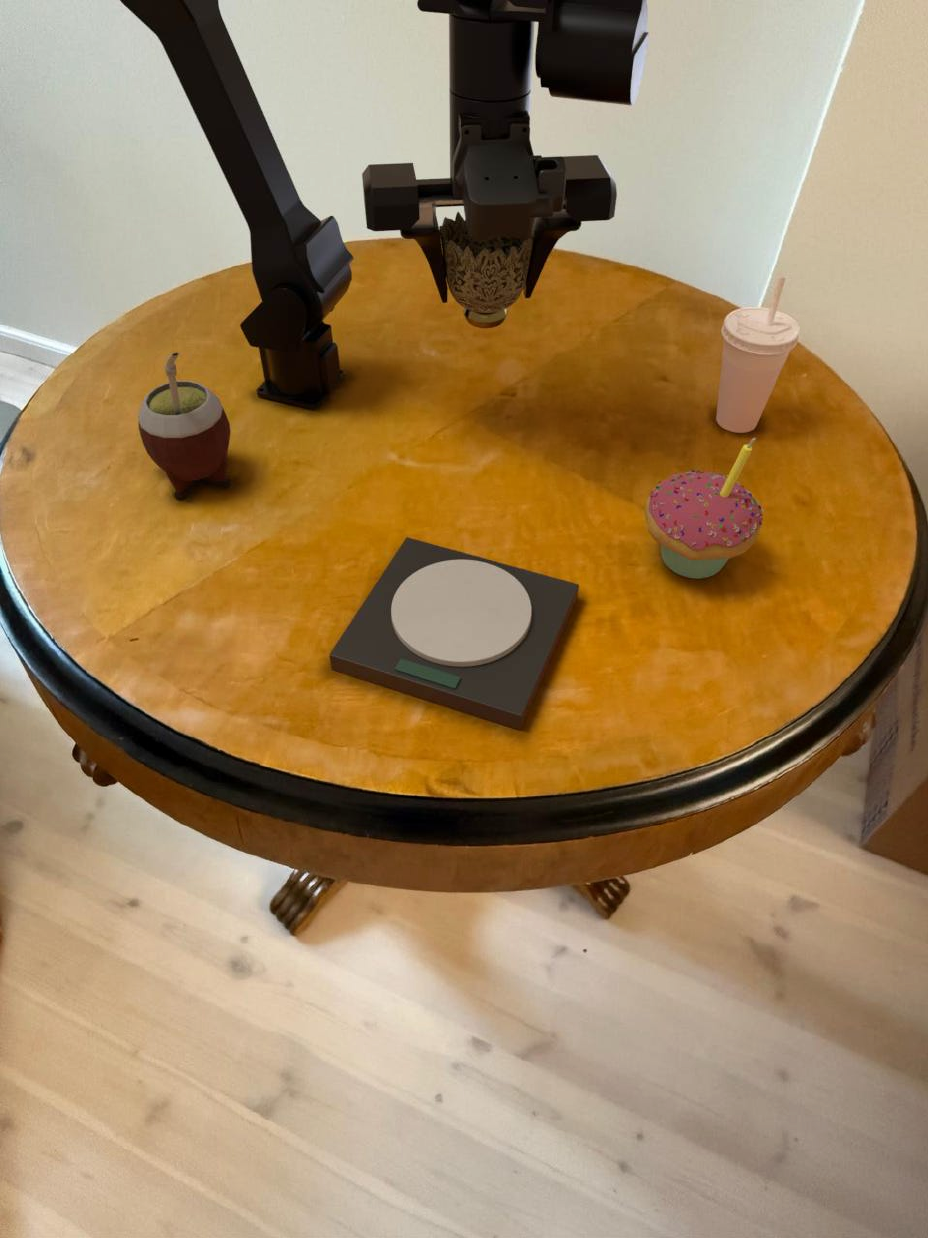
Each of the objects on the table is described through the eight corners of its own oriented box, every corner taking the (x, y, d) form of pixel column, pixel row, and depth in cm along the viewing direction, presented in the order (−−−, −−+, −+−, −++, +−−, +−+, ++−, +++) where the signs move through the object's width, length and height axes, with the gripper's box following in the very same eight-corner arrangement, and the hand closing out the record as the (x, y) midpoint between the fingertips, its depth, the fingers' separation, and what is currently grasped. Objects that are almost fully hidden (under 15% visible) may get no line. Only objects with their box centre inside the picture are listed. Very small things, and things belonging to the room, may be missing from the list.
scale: (331, 669, 63) (327, 649, 61) (407, 551, 71) (406, 530, 69) (520, 730, 59) (522, 710, 58) (577, 599, 67) (580, 578, 66)
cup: (437, 301, 78) (435, 207, 72) (521, 296, 78) (526, 203, 72) (446, 346, 73) (444, 249, 67) (535, 341, 73) (542, 245, 67)
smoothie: (772, 445, 80) (818, 298, 70) (700, 436, 81) (734, 290, 71) (770, 405, 85) (813, 261, 74) (701, 397, 85) (734, 254, 75)
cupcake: (752, 536, 72) (793, 410, 63) (739, 609, 67) (781, 481, 58) (647, 513, 74) (672, 387, 65) (625, 582, 69) (650, 454, 60)
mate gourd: (186, 446, 80) (142, 286, 69) (263, 465, 78) (231, 304, 67) (136, 496, 75) (81, 333, 64) (217, 518, 73) (175, 354, 62)
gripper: (361, 135, 56) (377, 357, 68) (650, 124, 58) (618, 342, 69) (354, 78, 64) (370, 286, 75) (610, 69, 65) (588, 274, 77)
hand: (485, 298), depth 74 cm, fingers closed on cup, 6 cm apart
